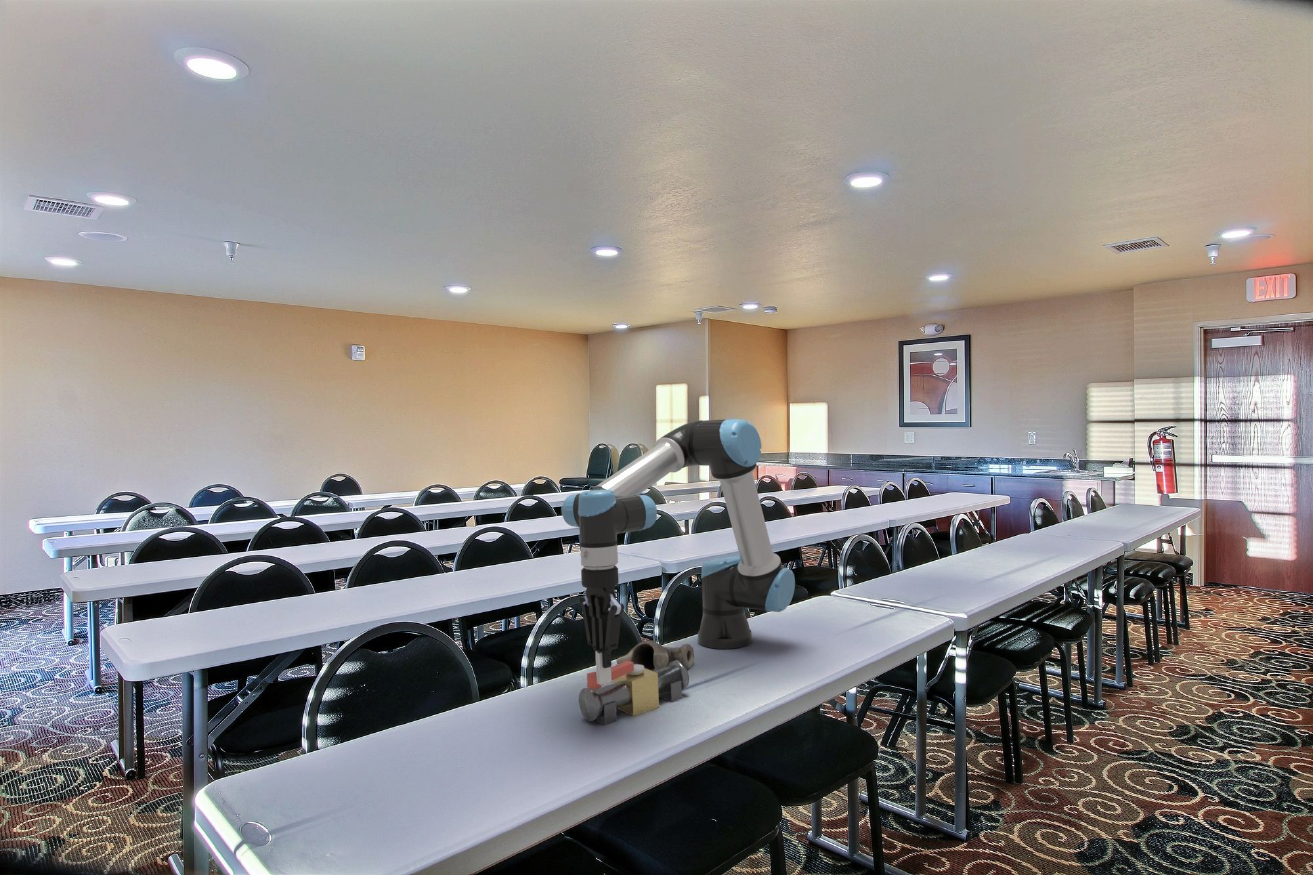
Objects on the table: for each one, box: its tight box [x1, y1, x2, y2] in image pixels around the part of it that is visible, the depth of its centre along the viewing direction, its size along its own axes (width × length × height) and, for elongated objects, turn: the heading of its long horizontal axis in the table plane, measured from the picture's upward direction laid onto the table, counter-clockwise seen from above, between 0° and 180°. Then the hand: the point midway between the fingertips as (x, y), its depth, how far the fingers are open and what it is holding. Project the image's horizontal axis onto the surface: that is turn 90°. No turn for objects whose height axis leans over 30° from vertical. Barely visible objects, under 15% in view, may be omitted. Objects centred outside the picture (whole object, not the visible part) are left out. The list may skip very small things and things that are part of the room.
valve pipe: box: [578, 660, 690, 726], centre depth 163 cm, size 25×7×8 cm, turn 129°
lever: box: [586, 661, 644, 689], centre depth 158 cm, size 16×4×3 cm, turn 142°
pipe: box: [616, 640, 695, 671], centre depth 186 cm, size 16×9×15 cm
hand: (604, 682), depth 152 cm, fingers closed
